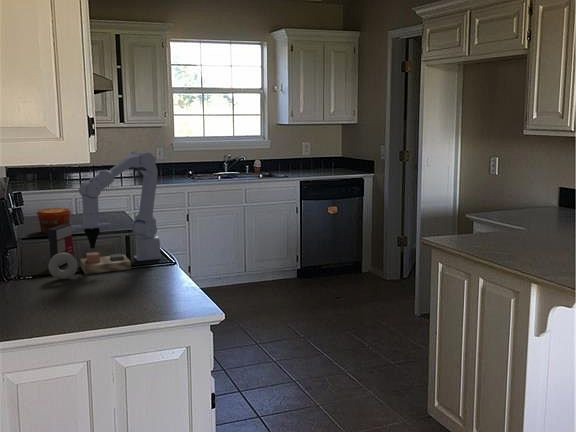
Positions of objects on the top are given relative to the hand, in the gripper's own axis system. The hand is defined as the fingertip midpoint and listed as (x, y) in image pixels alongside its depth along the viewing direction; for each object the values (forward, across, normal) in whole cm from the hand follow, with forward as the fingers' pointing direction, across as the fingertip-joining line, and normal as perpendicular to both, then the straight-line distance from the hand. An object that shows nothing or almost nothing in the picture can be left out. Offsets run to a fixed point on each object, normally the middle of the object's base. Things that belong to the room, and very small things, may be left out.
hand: (92, 247), depth 233 cm
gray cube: (+8, +9, 0) cm, 12 cm away
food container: (+9, -6, +79) cm, 80 cm away
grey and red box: (+9, -10, +13) cm, 19 cm away
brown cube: (+6, 0, 0) cm, 6 cm away
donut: (+9, -12, -10) cm, 18 cm away
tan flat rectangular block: (+8, +4, 0) cm, 9 cm away
